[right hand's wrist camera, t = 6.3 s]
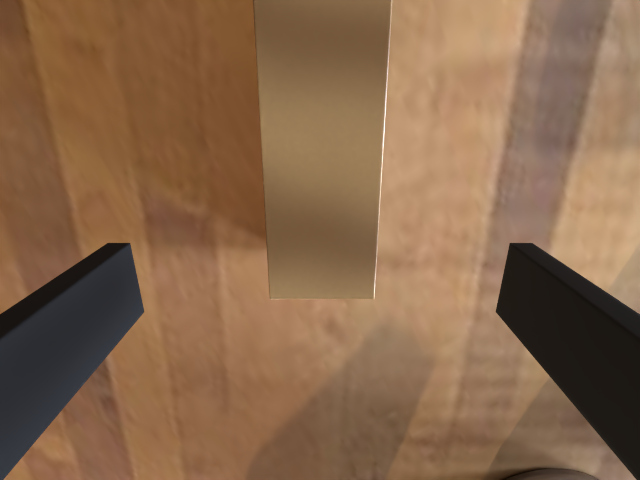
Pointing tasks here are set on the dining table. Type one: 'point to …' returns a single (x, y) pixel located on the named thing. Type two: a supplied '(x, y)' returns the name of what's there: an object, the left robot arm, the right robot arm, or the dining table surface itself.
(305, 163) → the post
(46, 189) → the dining table surface
